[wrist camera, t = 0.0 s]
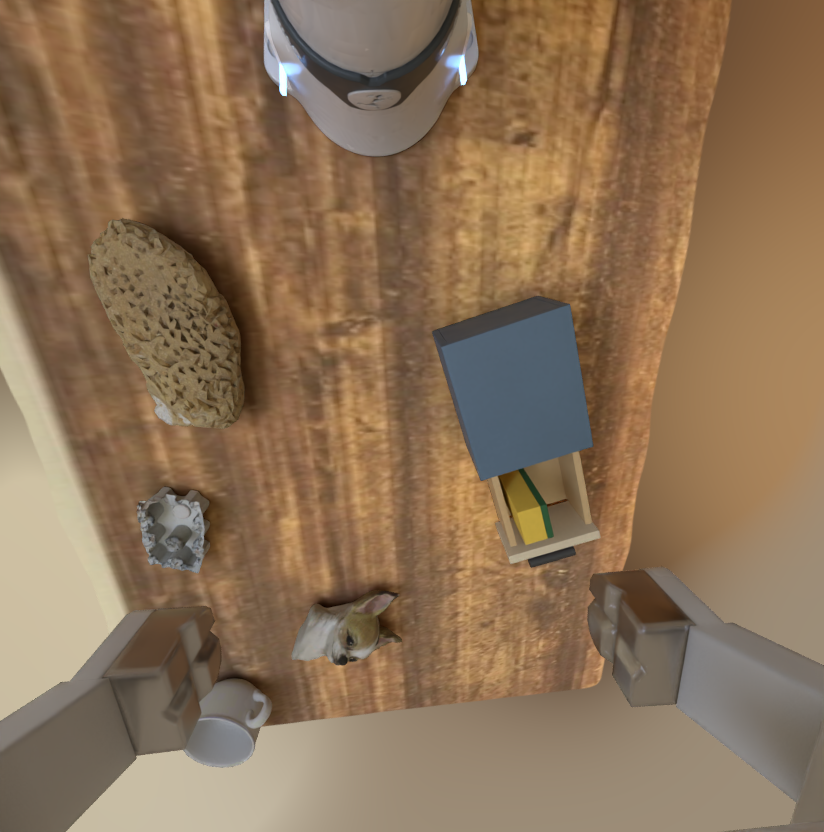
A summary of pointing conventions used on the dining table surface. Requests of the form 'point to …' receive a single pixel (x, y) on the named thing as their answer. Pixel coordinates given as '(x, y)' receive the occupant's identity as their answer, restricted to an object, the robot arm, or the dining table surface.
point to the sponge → (170, 324)
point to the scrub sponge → (526, 506)
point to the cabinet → (516, 385)
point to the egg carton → (174, 529)
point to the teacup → (228, 724)
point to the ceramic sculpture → (345, 630)
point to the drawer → (566, 518)
